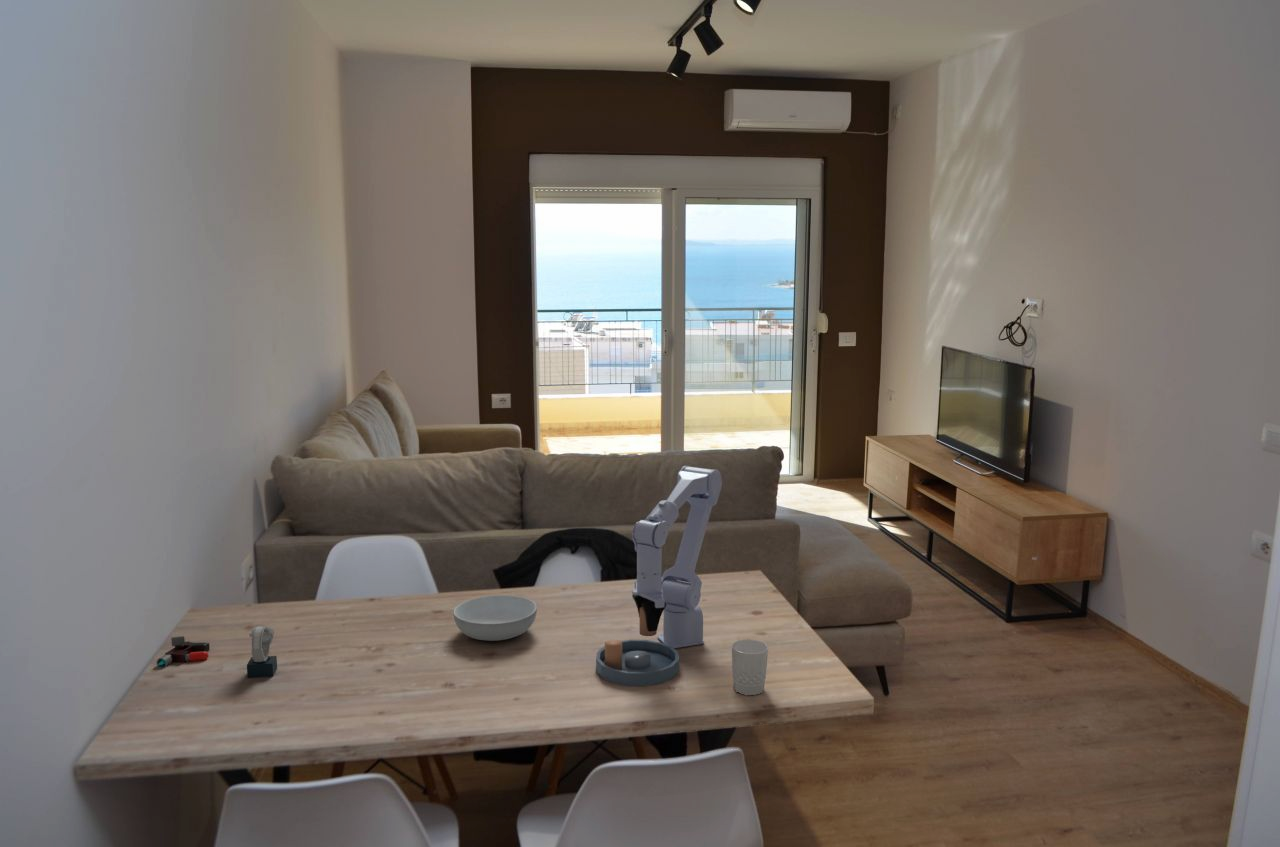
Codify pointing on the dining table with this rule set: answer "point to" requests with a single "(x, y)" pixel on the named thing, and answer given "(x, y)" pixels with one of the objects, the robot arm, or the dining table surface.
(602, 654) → the ring tray
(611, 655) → the tan wooden cylinder
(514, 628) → the serving bowl
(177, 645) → the toy gun
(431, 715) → the dining table surface
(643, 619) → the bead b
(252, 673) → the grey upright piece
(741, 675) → the grey cup
